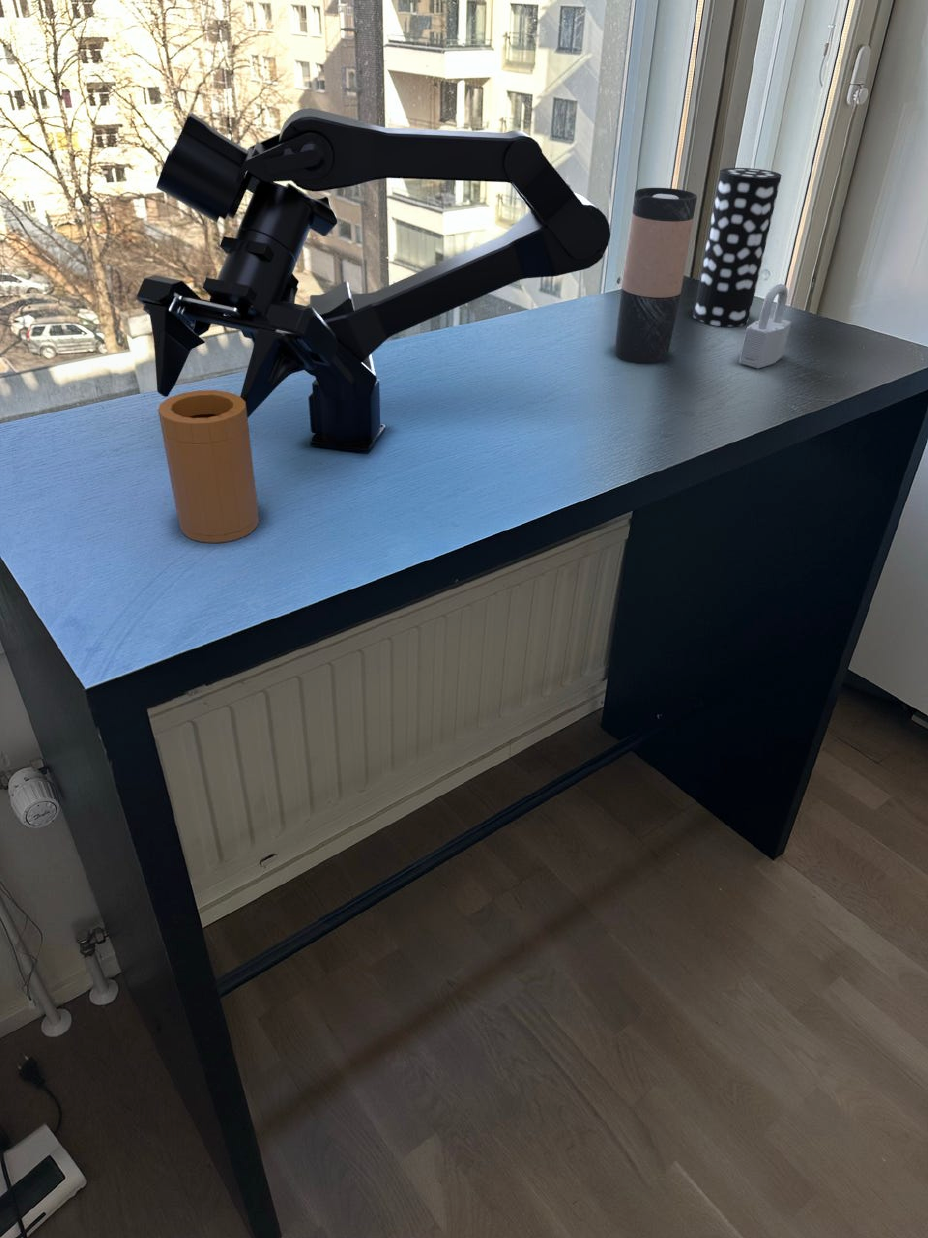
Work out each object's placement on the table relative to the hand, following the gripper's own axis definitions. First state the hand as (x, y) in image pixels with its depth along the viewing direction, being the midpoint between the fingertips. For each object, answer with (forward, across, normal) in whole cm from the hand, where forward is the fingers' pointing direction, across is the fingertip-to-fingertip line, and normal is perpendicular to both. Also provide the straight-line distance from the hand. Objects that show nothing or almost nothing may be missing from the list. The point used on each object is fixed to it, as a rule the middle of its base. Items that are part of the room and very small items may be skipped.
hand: (201, 405), depth 77 cm
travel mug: (-36, -23, -48) cm, 64 cm away
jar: (+9, -5, -3) cm, 11 cm away
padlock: (-41, -37, -54) cm, 77 cm away
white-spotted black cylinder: (-52, -28, -65) cm, 88 cm away
